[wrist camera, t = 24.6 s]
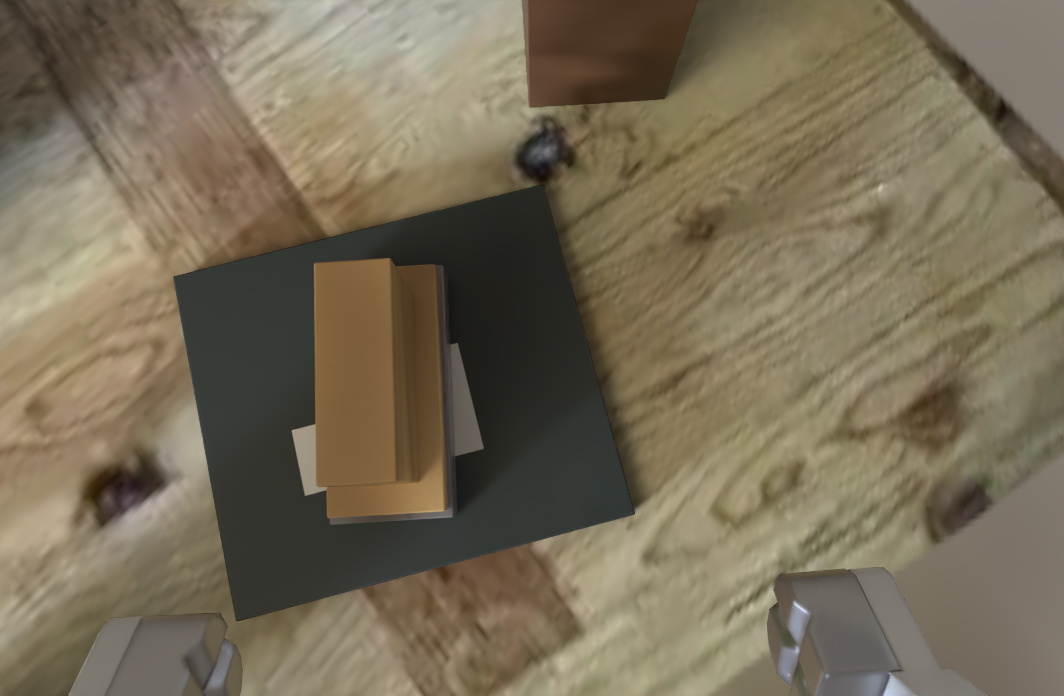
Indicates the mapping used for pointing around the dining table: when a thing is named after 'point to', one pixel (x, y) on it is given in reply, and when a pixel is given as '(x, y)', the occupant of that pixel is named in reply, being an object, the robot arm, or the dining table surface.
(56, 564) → the dining table surface
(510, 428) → the slate board
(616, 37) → the walnut block
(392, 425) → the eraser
